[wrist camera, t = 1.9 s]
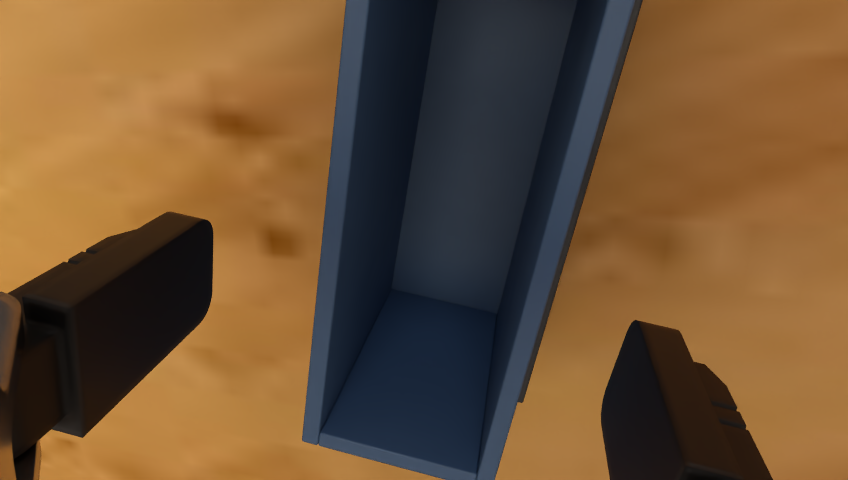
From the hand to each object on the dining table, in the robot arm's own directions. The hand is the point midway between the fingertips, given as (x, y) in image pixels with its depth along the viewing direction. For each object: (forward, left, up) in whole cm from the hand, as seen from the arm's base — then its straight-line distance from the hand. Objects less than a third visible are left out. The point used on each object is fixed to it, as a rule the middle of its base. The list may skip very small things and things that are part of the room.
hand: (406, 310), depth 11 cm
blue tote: (0, 0, -13) cm, 13 cm away
